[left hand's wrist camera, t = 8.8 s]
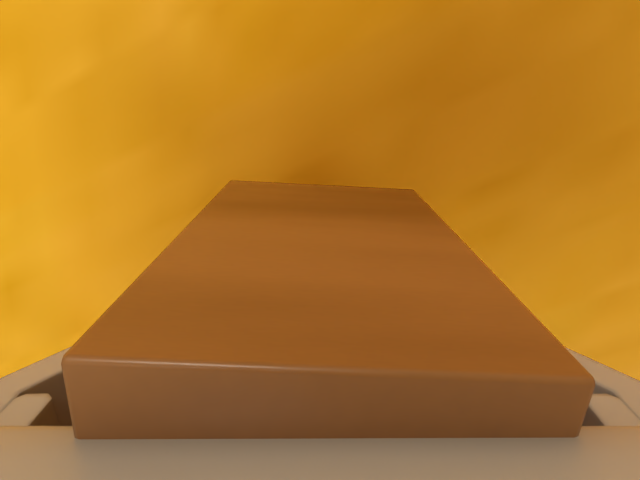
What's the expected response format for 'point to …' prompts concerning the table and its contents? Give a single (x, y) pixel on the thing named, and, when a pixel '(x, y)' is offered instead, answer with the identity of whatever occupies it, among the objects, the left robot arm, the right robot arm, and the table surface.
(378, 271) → the bar
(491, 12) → the table surface
